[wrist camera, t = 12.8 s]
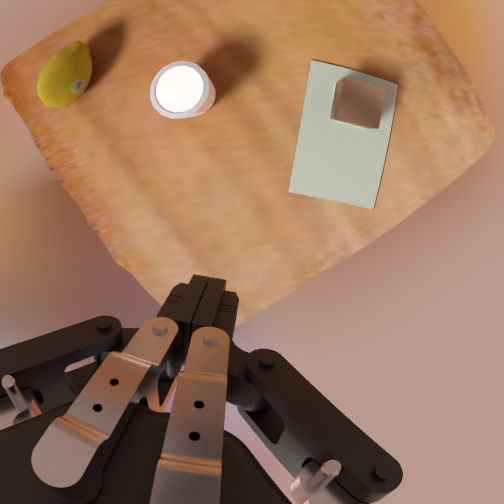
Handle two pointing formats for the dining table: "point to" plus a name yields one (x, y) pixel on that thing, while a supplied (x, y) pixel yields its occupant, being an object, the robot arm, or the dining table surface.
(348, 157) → the rubber mat
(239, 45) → the dining table surface
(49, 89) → the lemon
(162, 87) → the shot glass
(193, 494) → the robot arm
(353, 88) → the copper block
